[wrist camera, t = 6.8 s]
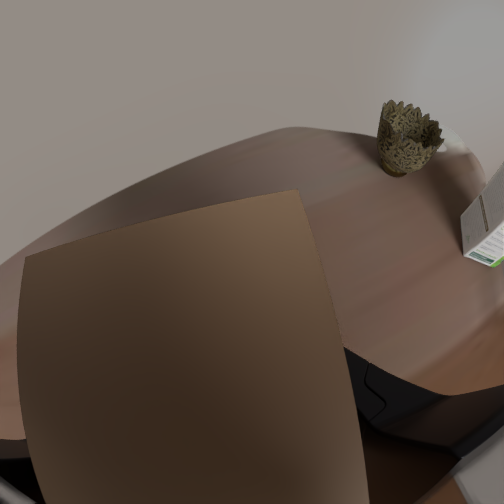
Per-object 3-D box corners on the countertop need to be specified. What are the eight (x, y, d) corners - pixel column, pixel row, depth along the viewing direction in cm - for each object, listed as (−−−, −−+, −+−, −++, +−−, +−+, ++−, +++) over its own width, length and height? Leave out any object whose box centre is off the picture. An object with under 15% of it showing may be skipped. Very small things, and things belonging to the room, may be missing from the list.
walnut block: (299, 412, 13) (371, 536, 2) (213, 425, 13) (51, 516, 2) (283, 332, 15) (297, 189, 4) (200, 346, 15) (25, 257, 4)
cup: (416, 202, 27) (446, 155, 19) (360, 177, 28) (379, 124, 21) (419, 161, 29) (442, 117, 22) (370, 140, 31) (385, 92, 24)
